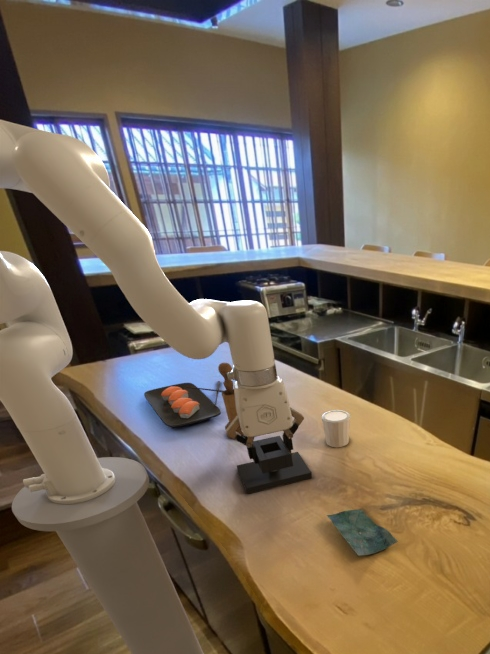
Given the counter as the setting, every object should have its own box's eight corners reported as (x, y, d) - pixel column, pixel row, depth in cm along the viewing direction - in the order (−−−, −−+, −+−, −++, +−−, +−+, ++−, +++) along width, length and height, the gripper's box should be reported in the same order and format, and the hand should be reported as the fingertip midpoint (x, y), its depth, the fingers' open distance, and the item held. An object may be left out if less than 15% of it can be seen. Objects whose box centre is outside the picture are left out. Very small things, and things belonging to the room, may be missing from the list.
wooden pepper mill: (224, 430, 110) (207, 360, 99) (249, 425, 112) (235, 356, 101) (229, 441, 105) (211, 369, 94) (255, 436, 108) (241, 365, 97)
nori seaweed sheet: (326, 522, 80) (325, 514, 79) (362, 510, 84) (362, 502, 83) (359, 563, 72) (359, 555, 71) (397, 548, 75) (398, 540, 74)
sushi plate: (143, 397, 126) (138, 385, 124) (240, 376, 141) (237, 364, 138) (170, 434, 108) (165, 421, 106) (278, 405, 122) (276, 393, 120)
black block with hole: (262, 473, 87) (260, 461, 85) (252, 453, 93) (250, 441, 91) (293, 466, 89) (291, 453, 87) (281, 447, 96) (279, 435, 94)
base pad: (247, 494, 88) (243, 478, 85) (238, 470, 95) (234, 455, 92) (312, 478, 93) (310, 462, 90) (298, 457, 100) (296, 441, 97)
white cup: (332, 451, 102) (330, 424, 97) (318, 440, 106) (316, 414, 102) (356, 443, 105) (355, 417, 101) (342, 432, 109) (340, 407, 105)
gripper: (211, 389, 74) (234, 475, 85) (306, 373, 80) (316, 455, 91) (205, 375, 79) (227, 458, 90) (295, 361, 85) (305, 440, 97)
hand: (272, 456), depth 91 cm, fingers closed on black block with hole, 6 cm apart
